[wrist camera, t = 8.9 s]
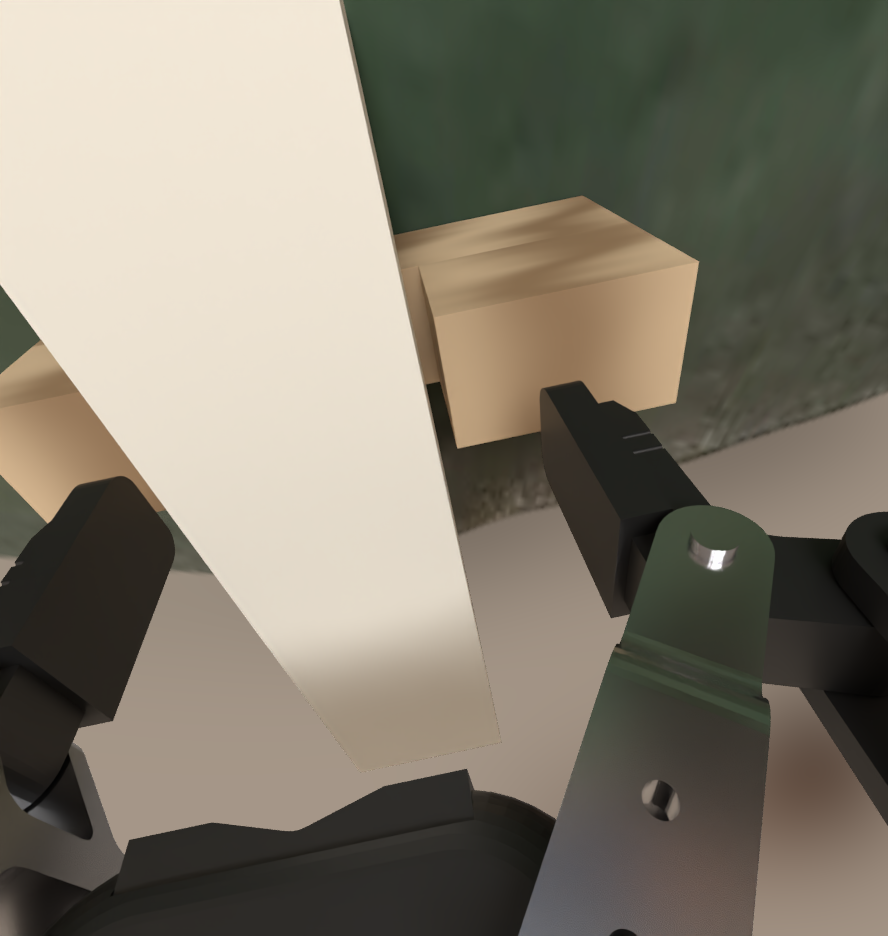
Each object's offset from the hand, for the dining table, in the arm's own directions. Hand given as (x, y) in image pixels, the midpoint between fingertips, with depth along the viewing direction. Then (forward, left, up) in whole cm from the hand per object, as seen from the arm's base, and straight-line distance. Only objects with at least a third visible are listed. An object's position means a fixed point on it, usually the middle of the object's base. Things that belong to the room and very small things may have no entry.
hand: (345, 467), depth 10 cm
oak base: (0, 0, -9) cm, 9 cm away
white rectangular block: (0, 0, -9) cm, 9 cm away
